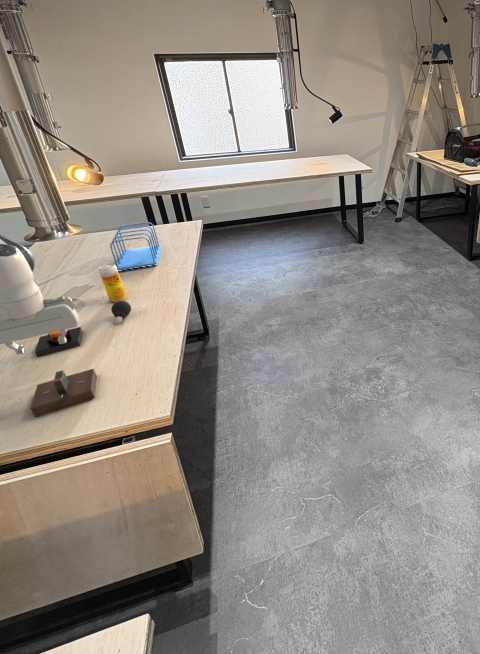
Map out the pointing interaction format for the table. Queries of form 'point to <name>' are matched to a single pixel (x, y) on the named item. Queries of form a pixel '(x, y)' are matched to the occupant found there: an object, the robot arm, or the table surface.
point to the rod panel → (77, 392)
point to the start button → (55, 334)
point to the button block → (52, 345)
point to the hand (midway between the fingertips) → (42, 347)
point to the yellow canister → (112, 282)
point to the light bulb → (120, 310)
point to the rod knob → (61, 382)
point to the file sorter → (136, 250)
